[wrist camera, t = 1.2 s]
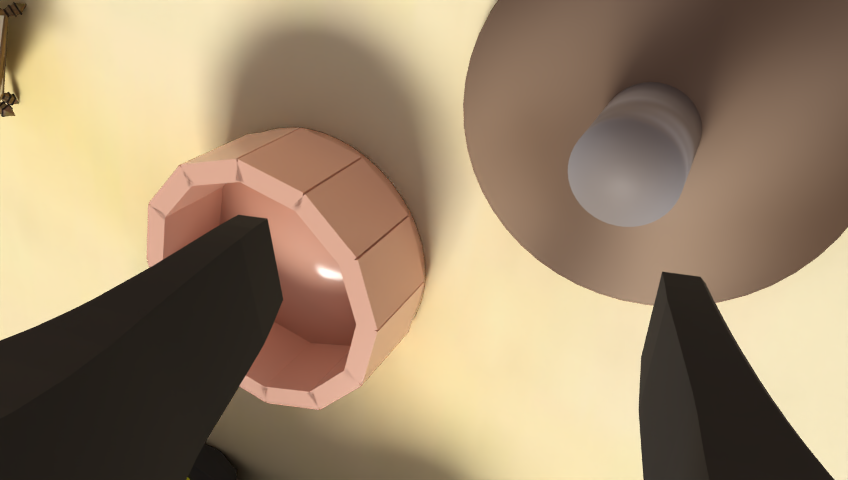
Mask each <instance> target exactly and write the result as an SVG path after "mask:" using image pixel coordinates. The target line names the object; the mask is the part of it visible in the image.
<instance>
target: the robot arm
mask: <svg viewBox="0 0 848 480" xmlns="http://www.w3.org/2000/svg"><path fill="white" fill-rule="evenodd" d="M282 301H283V295H282V290H281V285H280V280H279V275H278V269H277V264H276V259H275V254H274V249H273V244H272V239H271V233H270V228H269V223H268V219H267V218H260V217H252V216H245V215H237V216H235V217H233V218H231V219H229V220H228V221H226V222H224V223H222V224H221V225H219V226H217V227H215V228H214V229H212V230H211V231H209V232H207V233H206V234H204V235H202V236H201V237H199V238H197V239H196V240H194V241H193V242H191V243H189V244H188V245H186V246H184V247H183V248H181V249H180V250H178V251H176V252H175V253H173V254H171V255H170V256H168V257H166V258H165V259H163V260H161V261H160V262H158V263H157V264H155V265H153V266H152V267H150V268H148V269H147V270H145V271H143V272H141V273H140V274H138V275H136V276H134V277H132V278H131V279H129V280H127V281H125V282H123V283H122V284H120V285H118V286H116V287H114V288H113V289H111V290H109V291H107V292H105V293H104V294H102V295H100V296H98V297H96V298H95V299H93V300H91V301H89V302H87V303H85V304H83V305H81V306H79V307H77V308H75V309H73V310H71V311H69V312H66V313H64V314H62V315H60V316H58V317H56V318H53V319H51V320H49V321H47V322H45V323H42V324H40V325H38V326H36V327H33V328H31V329H29V330H26V331H24V332H21V333H19V334H16V335H14V336H11V337H8V338H6V339H3V340H1V341H0V480H187V477H188V475H189V473H190V471H191V469H192V467H193V465H194V463H195V460H196V458H197V457H198V455H199V453H200V451H201V449H202V447H203V446H204V444H205V442H206V440H207V438H208V437H209V435H210V433H211V432H212V430H213V428H214V427H215V425H216V423H217V422H218V420H219V419H220V417H221V415H222V414H223V412H224V410H225V409H226V407H227V405H228V404H229V402H230V400H231V399H232V397H233V396H234V394H235V392H236V391H237V389H238V387H239V386H240V384H241V382H242V381H243V379H244V378H245V376H246V374H247V373H248V371H249V369H250V368H251V366H252V364H253V362H254V361H255V359H256V357H257V356H258V354H259V352H260V351H261V349H262V347H263V345H264V344H265V341H266V339H267V337H268V335H269V333H270V330H271V328H272V326H273V324H274V321H275V319H276V316H277V314H278V311H279V309H280V306H281V304H282ZM639 421H640V435H641V450H642V463H643V477H644V480H834V479H833V478H832V476H831V475H830V474H829V473H828V472H827V470H826V469H825V468H824V467H823V465H822V464H821V463H820V462H819V461H818V459H817V458H816V457H815V456H814V455H813V453H812V452H811V451H810V450H809V448H808V447H807V446H806V445H805V443H804V442H803V441H802V439H801V438H800V437H799V435H798V434H797V433H796V431H795V430H794V429H793V427H792V426H791V425H790V423H789V422H788V421H787V419H786V418H785V416H784V415H783V414H782V412H781V411H780V409H779V408H778V406H777V405H776V404H775V402H774V401H773V399H772V398H771V396H770V395H769V393H768V392H767V390H766V389H765V387H764V386H763V384H762V383H761V381H760V380H759V378H758V377H757V375H756V373H755V372H754V370H753V369H752V367H751V365H750V364H749V362H748V361H747V359H746V357H745V356H744V354H743V352H742V351H741V349H740V347H739V346H738V344H737V342H736V341H735V339H734V337H733V335H732V333H731V332H730V330H729V328H728V326H727V324H726V323H725V321H724V319H723V317H722V315H721V313H720V311H719V309H718V307H717V306H716V304H715V302H714V300H713V298H712V295H711V293H710V291H709V289H708V287H707V285H706V283H705V282H704V281H703V279H702V278H701V277H699V276H692V275H684V274H677V273H669V272H662V274H661V278H660V282H659V287H658V291H657V295H656V299H655V303H654V307H653V311H652V315H651V319H650V323H649V328H648V332H647V336H646V340H645V344H644V348H643V352H642V356H641V373H640V393H639Z"/></svg>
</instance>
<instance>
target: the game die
mask: <svg viewBox="0 0 848 480" xmlns="http://www.w3.org/2000/svg"><path fill="white" fill-rule="evenodd" d="M13 3H14V4H12V5H8V7H7V8H6V9H1V8H0V101H1V100H2V101H3V102H0V114H1V116H2V117H5V116H15V114H14V112H13V110H12V109H13V108H12V107H11V106H10V105H13V104H18V103H19V102H18V101H17V99H16V97H15V95H14V94H10V93H9V92H8V93H4V84H5V66H6V47H7V29H8V17H9V16H15V17H16V15H18V14H21V15H22V11H23V9H24V8H25V6H26V4H21V3H15V2H13ZM5 103H7V104H8V105H6V104H5Z"/></svg>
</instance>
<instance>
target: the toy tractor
mask: <svg viewBox="0 0 848 480" xmlns="http://www.w3.org/2000/svg"><path fill="white" fill-rule="evenodd" d="M236 472H237V469H236V468H235V467H233V466H232V465H231V464H230V462H229V461H228V460H227V459H226V457H225V456H224V455H223V454H222V452H221V451H219V450H217V449H215V448H213V447H211V446H208V445H206V444H204V446H203V447H202V449H201V451H200V453H199V455H198V457H197V458H196V460H195V463H194V465H193V467H192V469H191V471H190V473H189V475H188V477H187V480H237V476H236Z"/></svg>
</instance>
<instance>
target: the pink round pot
mask: <svg viewBox="0 0 848 480" xmlns="http://www.w3.org/2000/svg"><path fill="white" fill-rule="evenodd" d="M237 215H245V216H252V217H260V218H267V219H268V223H269V228H270V233H271V239H272V244H273V249H274V254H275V259H276V264H277V269H278V275H279V280H280V285H281V290H282V295H283V301H282V304H281V306H280V309H279V311H278V314H277V316H276V319H275V321H274V324H273V326H272V328H271V330H270V333H269V335H268V337H267V339H266V341H265V344H264V345H263V347H262V349H261V351H260V352H259V354H258V356H257V357H256V359H255V361H254V362H253V364H252V366H251V368H250V369H249V371H248V373H247V374H246V376H245V378H244V379H243V381H242V382H241V384H240V387H241V388H243V389H244V390H246V391H248V392H249V393H251V394H253V395H254V396H256V397H257V398H259V399H261V400H262V401H264V402H267V403H270V404H278V405H286V406H293V407H301V408H309V409H316V410H319V409H320V410H321V409H323V408H324V407H326V406H328V405H329V404H331V403H333V402H335V401H336V400H338V399H340V398H342V397H343V396H345V395H347V394H348V393H350V392H352V391H354V390H355V389H357V388H359V387H361V386H362V385H363V383H364V382H365V381H366V380H367V379H368V378H369V377H370V375H371V374H372V373H373V372H374V371H375V370H376V369H377V367H378V366H379V365H380V364H381V363H382V362H383V361H384V359H385V358H386V357H387V356H388V355H389V354H390V353H391V351H392V350H393V349H394V348H395V347H396V346H397V345H398V343H399V342H400V341H401V340H402V339H403V338H404V337H405V335H406V334H407V333H408V332H409V329H410V326H411V322H412V320H413V318H414V317H415V315H416V313H417V311H418V308H419V306H420V304H421V300H422V296H423V292H424V285H425V259H424V254H423V248H422V243H421V240H420V237H419V233H418V230H417V227H416V225H415V223H414V220H413V218H412V216H411V213H410V211H409V210H408V208H407V206H406V204H405V203H404V201H403V199H402V197H401V196H400V194H399V193H398V192H397V190H396V189H395V187H394V186H393V185H392V183H391V182H390V181H389V180H388V179H387V178H386V176H385V175H384V174H383V173H382V172H381V171H380V170H379V169H378V168H377V167H376V166H375V165H374V164H373V163H372V162H371V161H370V160H368V159H367V158H366V157H365V156H364V155H362V154H361V153H359V152H358V151H357V150H355V149H354V148H353V147H351V146H349V145H347V144H346V143H344V142H342V141H340V140H338V139H337V138H334V137H332V136H329V135H327V134H324V133H322V132H318V131H314V130H310V129H305V128H300V127H299V128H296V127H286V128H276V129H272V130H267V131H265V132H260V133H252V134H247V135H244V136H242V137H240V138H238V139H236V140H233V141H231V142H229V143H227V144H224V145H222V146H220V147H218V148H216V149H213V150H211V151H209V152H207V153H205V154H202V155H200V156H198V157H196V158H194V159H191V160H189V161H187V162H185V163H183V164H181V165H179V166H178V167H177V168H176V170H175V171H174V172H173V173H172V175H171V176H170V177H169V178H168V180H167V181H166V182H165V183H164V185H163V186H162V187H161V188H160V190H159V191H158V192H157V193H156V195H155V196H154V197H153V198H152V200H151V201H150V202H149V204H148V233H147V260H148V261H147V262H148V265H149V267H152V266H153V265H155V264H157V263H158V262H160V261H161V260H163V259H165V258H166V257H168V256H170V255H171V254H173V253H175V252H176V251H178V250H180V249H181V248H183V247H184V246H186V245H188V244H189V243H191V242H193V241H194V240H196V239H197V238H199V237H201V236H202V235H204V234H206V233H207V232H209V231H211V230H212V229H214V228H215V227H217V226H219V225H221V224H222V223H224V222H226V221H228V220H229V219H231V218H233V217H235V216H237Z"/></svg>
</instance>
